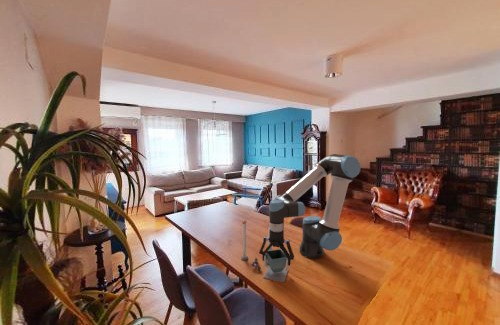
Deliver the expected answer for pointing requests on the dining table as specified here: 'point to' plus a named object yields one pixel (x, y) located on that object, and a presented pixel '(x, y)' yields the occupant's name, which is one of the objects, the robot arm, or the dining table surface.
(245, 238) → the post
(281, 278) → the tile
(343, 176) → the robot arm
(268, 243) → the post
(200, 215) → the dining table surface
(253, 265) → the bent rail
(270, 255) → the flower pot
